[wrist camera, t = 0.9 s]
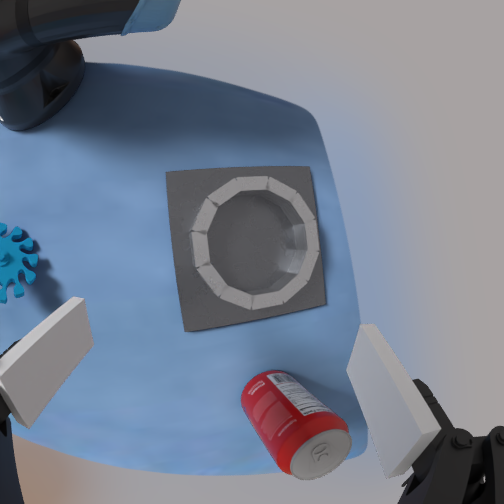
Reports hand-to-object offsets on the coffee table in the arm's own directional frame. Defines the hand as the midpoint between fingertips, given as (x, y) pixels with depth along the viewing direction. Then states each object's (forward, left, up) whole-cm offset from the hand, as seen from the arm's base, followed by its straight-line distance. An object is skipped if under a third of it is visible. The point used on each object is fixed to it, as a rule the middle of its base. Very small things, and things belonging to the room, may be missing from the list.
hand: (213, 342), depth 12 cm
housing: (-4, +8, -20) cm, 22 cm away
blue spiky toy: (-6, -22, -20) cm, 30 cm away
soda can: (+16, +8, -20) cm, 27 cm away
